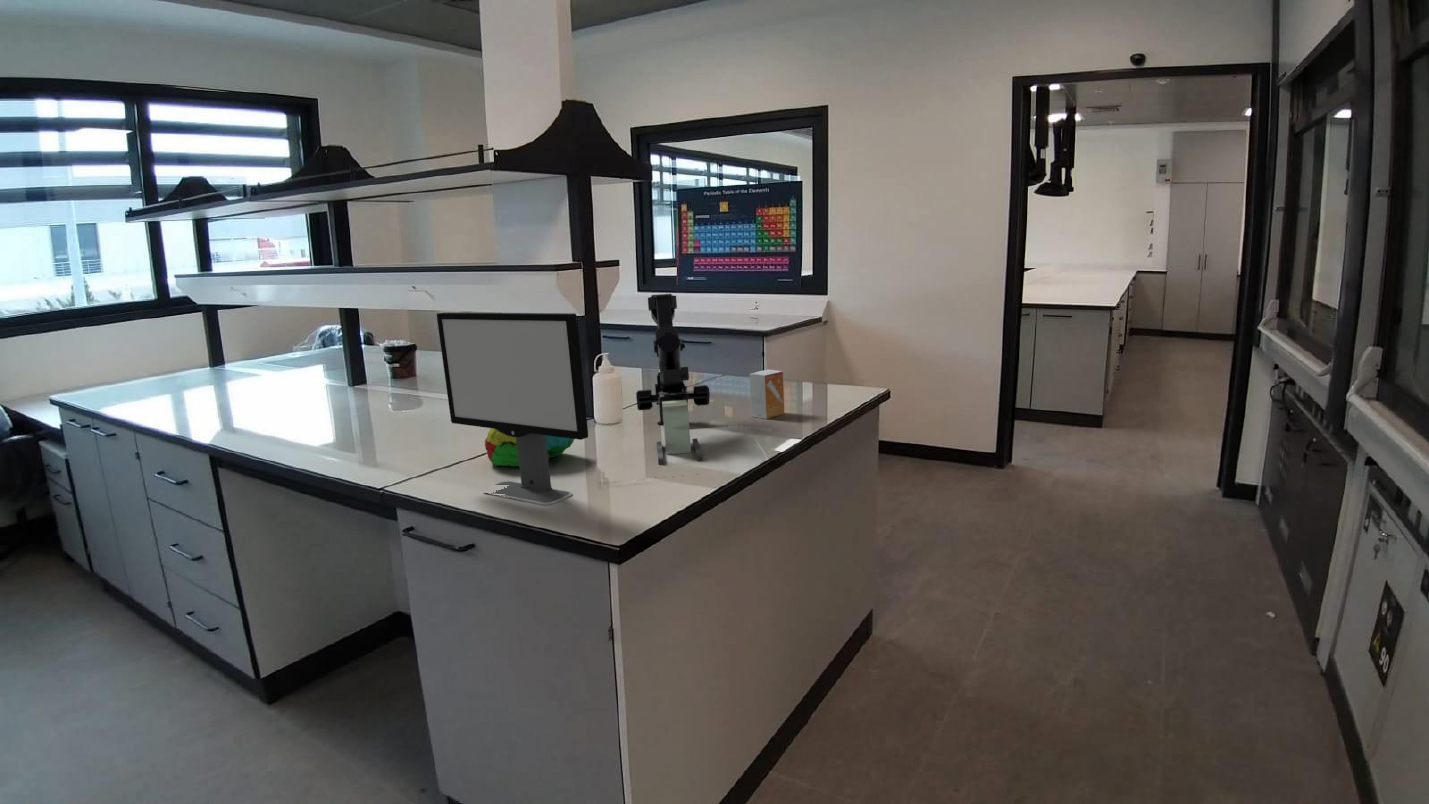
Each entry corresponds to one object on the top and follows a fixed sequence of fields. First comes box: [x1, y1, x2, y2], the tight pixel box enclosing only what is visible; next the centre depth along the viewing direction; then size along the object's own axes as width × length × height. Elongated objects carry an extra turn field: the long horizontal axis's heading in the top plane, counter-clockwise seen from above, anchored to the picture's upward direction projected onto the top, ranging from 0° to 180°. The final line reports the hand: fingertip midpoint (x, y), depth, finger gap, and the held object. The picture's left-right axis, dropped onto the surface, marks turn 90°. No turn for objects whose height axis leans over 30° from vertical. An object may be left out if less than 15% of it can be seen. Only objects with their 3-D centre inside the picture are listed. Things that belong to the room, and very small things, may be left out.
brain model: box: [484, 428, 575, 467], centre depth 197 cm, size 24×19×15 cm
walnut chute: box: [656, 437, 704, 466], centre depth 192 cm, size 16×12×3 cm
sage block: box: [662, 400, 692, 455], centre depth 193 cm, size 6×6×12 cm
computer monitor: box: [436, 311, 589, 506], centre depth 169 cm, size 41×8×40 cm, turn 56°
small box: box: [749, 369, 785, 420], centre depth 230 cm, size 8×6×13 cm
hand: (675, 425), depth 197 cm, fingers closed
